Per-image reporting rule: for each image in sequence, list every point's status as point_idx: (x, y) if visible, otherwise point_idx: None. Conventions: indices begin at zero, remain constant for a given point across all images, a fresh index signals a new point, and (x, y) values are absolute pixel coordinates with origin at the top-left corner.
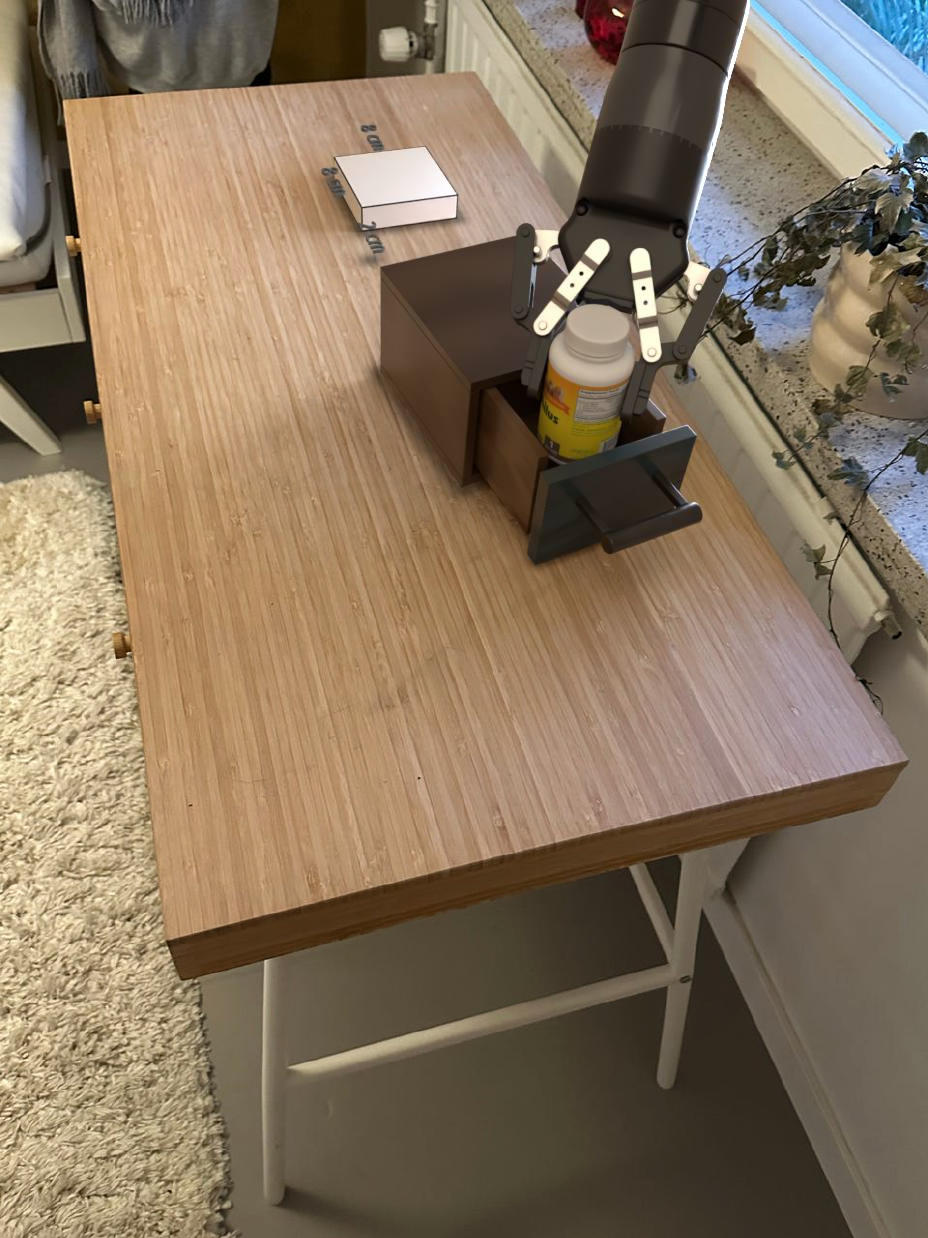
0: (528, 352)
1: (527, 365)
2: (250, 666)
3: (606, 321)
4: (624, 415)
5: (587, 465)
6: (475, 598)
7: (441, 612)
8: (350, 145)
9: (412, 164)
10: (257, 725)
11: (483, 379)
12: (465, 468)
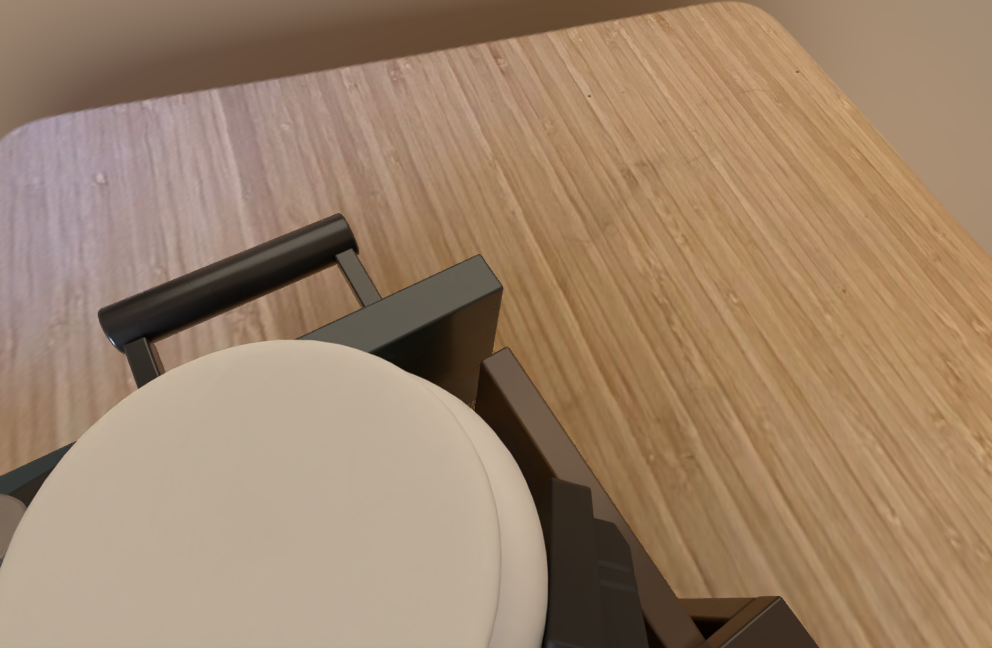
0: (638, 621)
1: (619, 575)
2: (821, 203)
3: (188, 578)
4: None
5: (378, 317)
6: (560, 323)
7: (607, 295)
8: None
9: None
10: (777, 140)
11: (744, 629)
12: None
